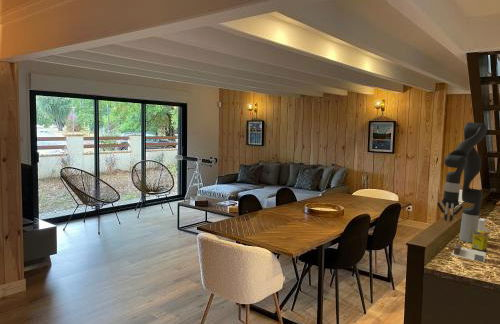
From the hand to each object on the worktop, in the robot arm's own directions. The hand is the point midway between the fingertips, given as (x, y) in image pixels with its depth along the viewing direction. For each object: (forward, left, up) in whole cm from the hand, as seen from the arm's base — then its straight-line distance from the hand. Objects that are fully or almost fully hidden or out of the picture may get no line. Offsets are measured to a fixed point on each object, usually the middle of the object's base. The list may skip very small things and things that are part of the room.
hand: (448, 220), depth 209 cm
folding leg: (+3, +7, -15) cm, 17 cm away
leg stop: (+11, +17, -16) cm, 26 cm away
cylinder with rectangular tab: (-53, +15, -17) cm, 58 cm away
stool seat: (+2, +12, -17) cm, 21 cm away
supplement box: (-18, +16, -17) cm, 30 cm away
